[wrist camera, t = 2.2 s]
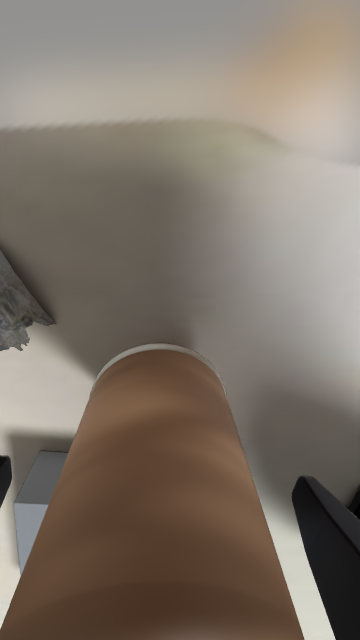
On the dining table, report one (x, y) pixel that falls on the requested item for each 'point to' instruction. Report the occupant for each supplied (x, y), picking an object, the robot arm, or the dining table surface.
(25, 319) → the driftwood
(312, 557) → the robot arm
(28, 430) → the dining table surface
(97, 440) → the peg
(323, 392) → the dining table surface
